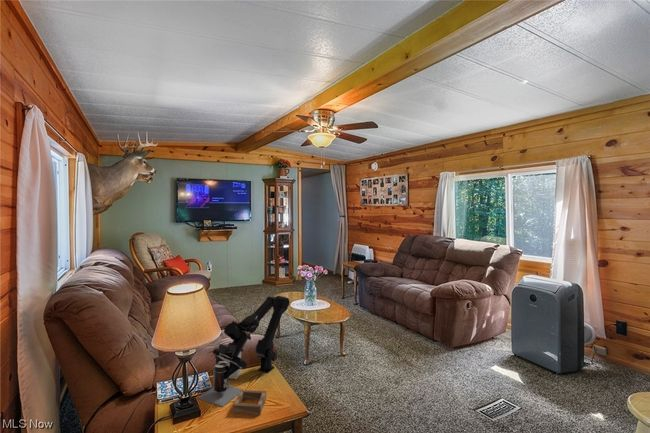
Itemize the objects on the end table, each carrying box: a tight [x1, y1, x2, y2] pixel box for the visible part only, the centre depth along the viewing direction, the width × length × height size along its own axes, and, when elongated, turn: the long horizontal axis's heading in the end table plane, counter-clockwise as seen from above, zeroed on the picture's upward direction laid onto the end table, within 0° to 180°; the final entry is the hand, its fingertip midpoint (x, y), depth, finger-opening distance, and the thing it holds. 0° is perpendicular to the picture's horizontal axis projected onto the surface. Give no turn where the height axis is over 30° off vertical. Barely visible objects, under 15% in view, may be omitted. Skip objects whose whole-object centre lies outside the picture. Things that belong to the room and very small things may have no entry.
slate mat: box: [197, 385, 243, 408], centre depth 156 cm, size 14×14×1 cm
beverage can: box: [213, 361, 230, 393], centre depth 156 cm, size 7×7×12 cm
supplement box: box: [224, 352, 242, 380], centre depth 173 cm, size 7×7×13 cm
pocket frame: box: [232, 389, 267, 416], centre depth 148 cm, size 12×12×4 cm
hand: (219, 376), depth 155 cm, fingers closed on beverage can, 7 cm apart
